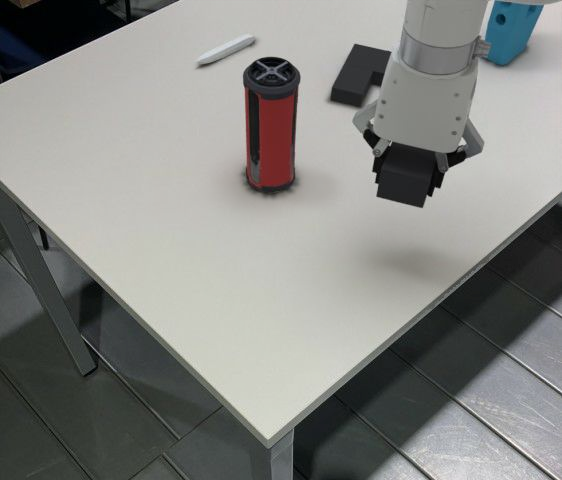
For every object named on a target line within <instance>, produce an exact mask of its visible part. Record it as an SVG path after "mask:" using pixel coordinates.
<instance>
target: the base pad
mask: <svg viewBox="0 0 562 480" xmlns="http://www.w3.org/2000/svg"><path fill="white" fill-rule="evenodd" d="M391 52H392V50H391V51H390V50H386V49H382V48H378V47H372V46H368V45H363V44H360V43H359V44H358V43H353V46H352V48H351V50H350V51H349V54H348V55H347V58H346V59H345V61H344V63H343V65H342V67H341V69H340V71H339V73H338V75H337V77H336V79H335V80H334V83H333V84H332V86H331V92H330V101H332V102H336V103H339V104H340V103H341V104H344V105H349V106H353V107H357V108H362V105H363V102H364V101H365V98H366V96H367V94H368V92H369V90H370V87H371V85H374V86H375V85H376V86H380V87H381V85H382V82H383V78H384V74H385V71H386V67H387V64H388V61H389V58H390V55H391Z"/></svg>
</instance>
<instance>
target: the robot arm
mask: <svg viewBox="0 0 562 480" xmlns="http://www.w3.org/2000/svg"><path fill="white" fill-rule="evenodd" d="M490 1H491V0H407V1H406V7H405V11H404V19H403V23H402V29H401V36H400V40H398V41H397V42H395V43H394V45H393V47H392V50H391V55H390V58H389V61H388V64H387V67H386V71H385V74H384V78H383V82H382V85H381V86H380V90H379V95H378V98H377V99H375V100H374V101H372V102H370V103H369V104H367V105H365V106H364V107H363V108H361V109H360V110H357V111H356V112H355V113H354V116H353V117H352V120H351V121H352V124H353V125H354V127H355V128H356V129H357V131H359V133H360V134H362V138H363V140H364V141H365V142H366V144H367V145H368V146H369V147H370V149H371V153H372V156H374V157H373V164H372V170H371V172H372V173H374V174H375V178H374V184H375V185H376V184H377V185H378V184H379V178H380V172H381V168H382V165H383V163H384V160H385V159H386V156H387V154H388V151H389V149H390V145H391V143H392V141H393V142H397V143H401V144H405V145H409V146H414V147H418V148H422V149H427V150H431V151H435V154H436V159H437V161H436V164H435V167H434V170H433V174H432V178H431V182H430V185H429V189H428V193H427V197H429V198H433V195H434V193H435V192H434V191H435V189H439V190H441V188H442V185H443V182H444V178H445V176H446V173H447V172H448V171H449V169H450V168H453V167H454V166H457V165H459V164H461V163H464V162H465V161H466V159H467V160H468V159H470V158H472V157H474V156H477V155H479V154H481V153H482V152H483V150H484V147H485V140H484V139H483V137H482V136H481V135H480V133H479V131H478V130H477V128H476V127H475V125H474V124H473V122H472V120H471V119H470V118H469V116H470V112H471V108H472V104H473V100H474V96H475V92H476V88H477V87H476V86H477V82H478V81H477V80H478V75H479V63H480V62H479V60H480V59H479V58H481V57H482V58H484V57H488V53H489V50H490V47H491V43H489V42H484V41H485V39H482V35H480V33H481V29H482V25H483V21H484V18H485V14H486V12H487V8H488V4H489V2H490ZM497 1H505V2H512V3H519V4H527V5H544V6H545V5H552V4H556V3H559V2H562V0H497ZM372 119H373V123H372V122H371V120H372ZM462 139H463V140H464V142H465V144H461V145H460V143H461V141H462Z"/></svg>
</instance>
